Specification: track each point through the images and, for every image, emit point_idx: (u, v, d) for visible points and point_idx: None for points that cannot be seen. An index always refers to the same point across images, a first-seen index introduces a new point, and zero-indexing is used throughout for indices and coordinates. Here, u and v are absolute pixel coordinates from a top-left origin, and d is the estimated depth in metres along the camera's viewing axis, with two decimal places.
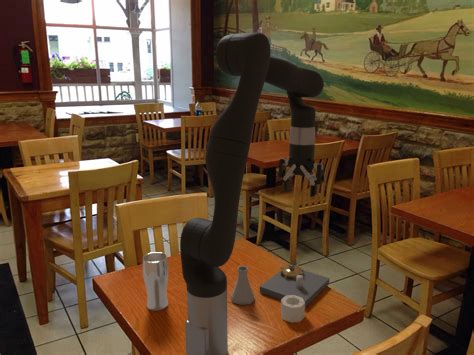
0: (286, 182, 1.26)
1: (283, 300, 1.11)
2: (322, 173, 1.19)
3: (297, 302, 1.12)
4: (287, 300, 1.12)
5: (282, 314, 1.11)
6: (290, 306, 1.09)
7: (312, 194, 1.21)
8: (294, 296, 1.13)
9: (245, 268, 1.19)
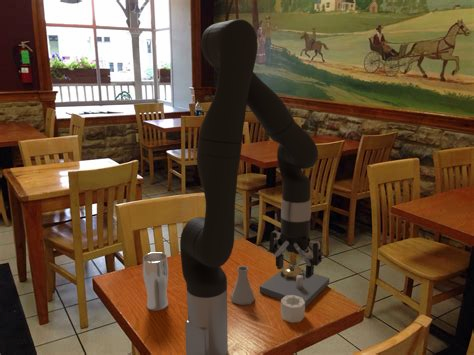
0: (278, 258, 1.10)
1: (283, 300, 1.11)
2: (319, 253, 1.03)
3: (297, 302, 1.12)
4: (287, 300, 1.12)
5: (282, 314, 1.11)
6: (290, 306, 1.09)
7: (308, 275, 1.05)
8: (294, 296, 1.13)
9: (245, 268, 1.19)
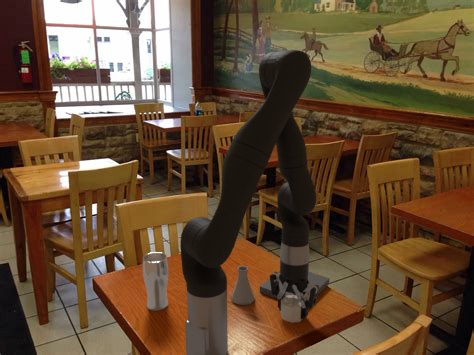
0: (280, 301, 1.12)
1: (283, 300, 1.11)
2: (315, 297, 1.07)
3: (297, 302, 1.12)
4: (287, 300, 1.12)
5: (282, 314, 1.11)
6: (290, 306, 1.09)
7: (302, 316, 1.09)
8: (294, 296, 1.13)
9: (245, 268, 1.19)
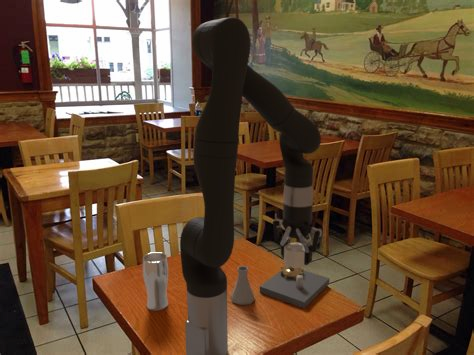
0: (283, 247, 1.10)
1: (286, 246, 1.09)
2: (319, 240, 1.04)
3: (301, 249, 1.10)
4: (290, 247, 1.10)
5: (285, 260, 1.09)
6: (293, 251, 1.06)
7: (306, 262, 1.07)
8: (297, 243, 1.11)
9: (245, 268, 1.19)
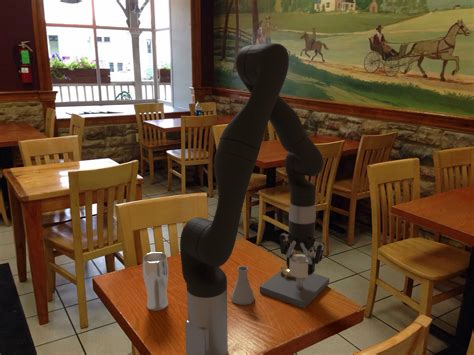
0: (289, 259, 1.22)
1: (291, 258, 1.21)
2: (321, 253, 1.16)
3: (304, 260, 1.22)
4: (295, 258, 1.22)
5: (291, 271, 1.21)
6: (298, 263, 1.18)
7: (309, 272, 1.19)
8: (301, 255, 1.23)
9: (245, 268, 1.19)
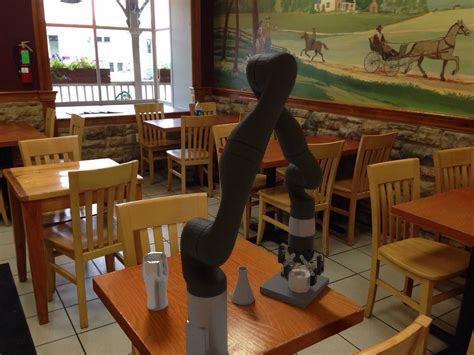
0: (286, 268, 1.23)
1: (291, 273, 1.22)
2: (322, 264, 1.17)
3: (303, 275, 1.23)
4: (294, 273, 1.23)
5: (290, 285, 1.22)
6: (297, 278, 1.19)
7: (312, 284, 1.19)
8: (301, 270, 1.24)
9: (245, 268, 1.19)
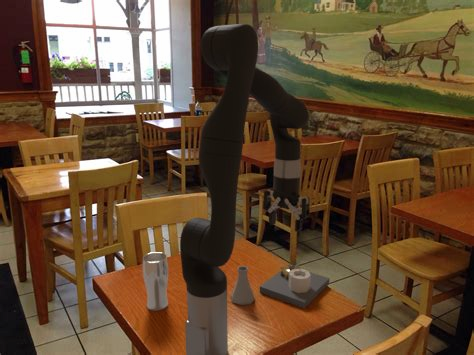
0: (271, 215, 1.21)
1: (291, 273, 1.22)
2: (307, 207, 1.14)
3: (303, 275, 1.23)
4: (294, 273, 1.23)
5: (290, 285, 1.22)
6: (297, 278, 1.19)
7: (297, 228, 1.16)
8: (301, 270, 1.24)
9: (245, 268, 1.19)
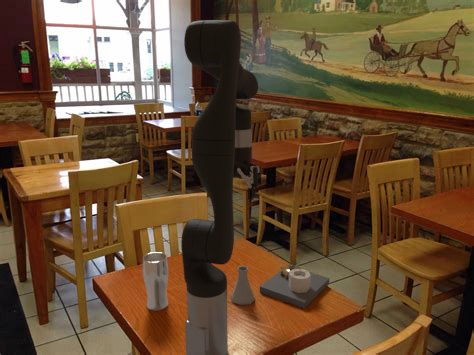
0: None
1: (291, 273, 1.22)
2: (258, 176, 1.18)
3: (303, 275, 1.23)
4: (294, 273, 1.23)
5: (290, 285, 1.22)
6: (297, 278, 1.19)
7: (250, 197, 1.20)
8: (301, 270, 1.24)
9: (245, 268, 1.19)
